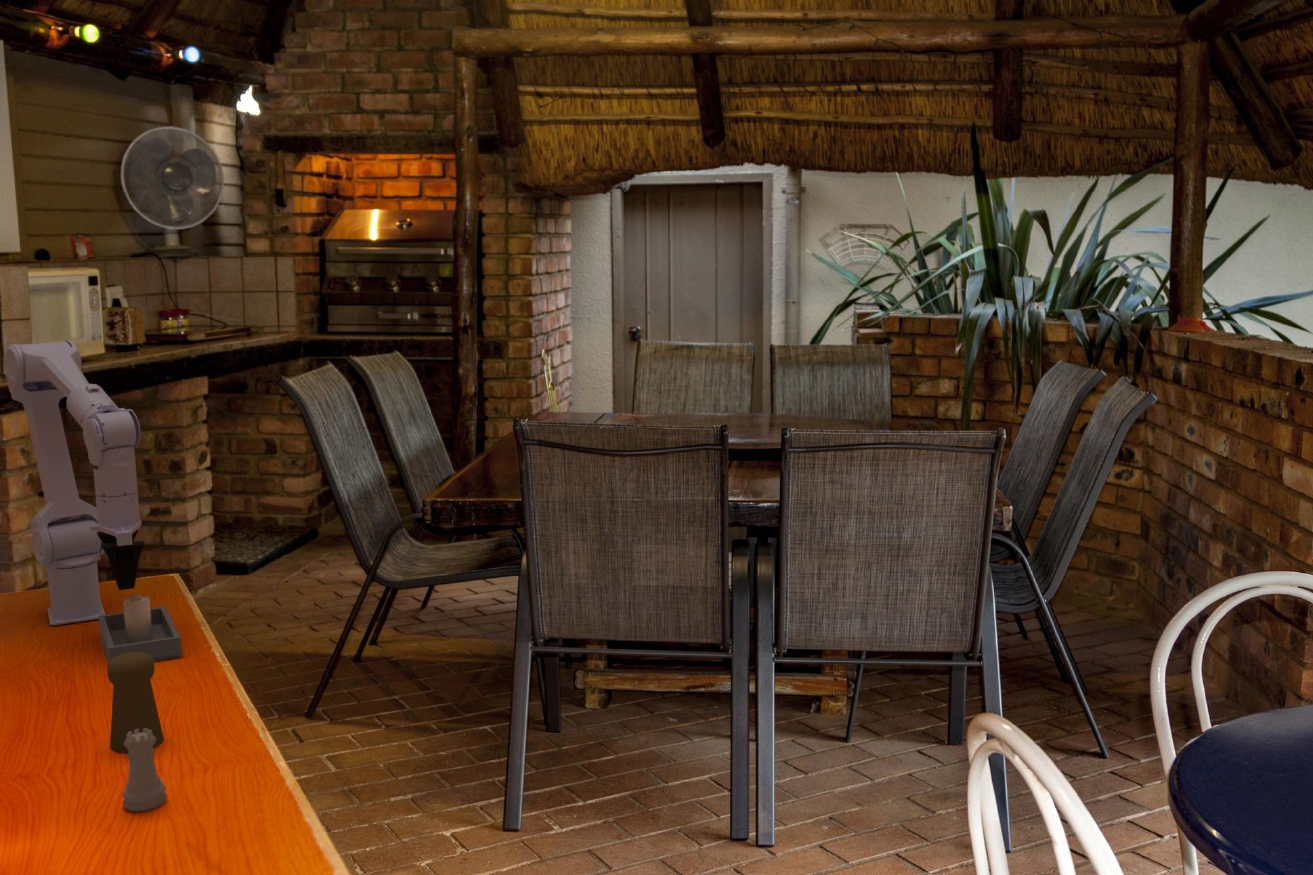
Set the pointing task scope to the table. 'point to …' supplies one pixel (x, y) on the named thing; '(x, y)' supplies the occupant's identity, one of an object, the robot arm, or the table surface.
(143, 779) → the rook chess piece
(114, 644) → the trough
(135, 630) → the cell
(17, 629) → the table surface
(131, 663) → the cork
